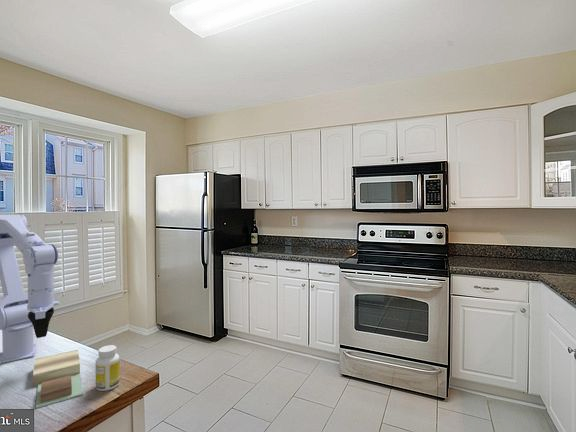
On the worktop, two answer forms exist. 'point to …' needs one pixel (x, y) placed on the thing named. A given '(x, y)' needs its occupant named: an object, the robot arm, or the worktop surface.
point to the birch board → (56, 367)
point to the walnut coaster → (56, 389)
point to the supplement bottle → (107, 368)
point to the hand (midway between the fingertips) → (41, 336)
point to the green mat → (75, 393)
